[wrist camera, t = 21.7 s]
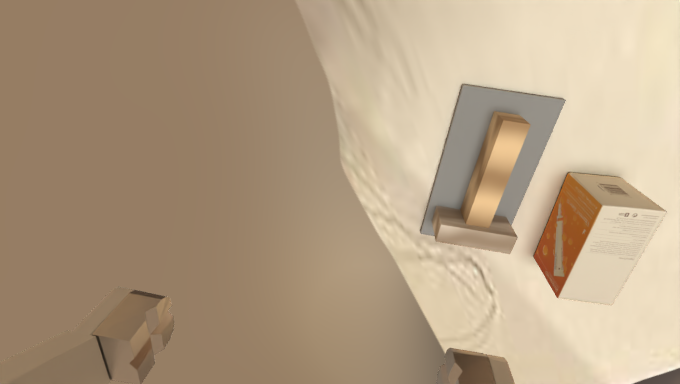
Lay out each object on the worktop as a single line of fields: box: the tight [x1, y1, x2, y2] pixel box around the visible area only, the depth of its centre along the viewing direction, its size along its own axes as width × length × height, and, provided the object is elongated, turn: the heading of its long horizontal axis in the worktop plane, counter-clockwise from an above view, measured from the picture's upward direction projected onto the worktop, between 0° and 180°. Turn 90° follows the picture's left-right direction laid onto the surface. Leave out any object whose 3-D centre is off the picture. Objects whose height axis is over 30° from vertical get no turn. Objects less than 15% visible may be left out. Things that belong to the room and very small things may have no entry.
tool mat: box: [420, 84, 566, 236], centre depth 43 cm, size 20×11×1 cm, turn 173°
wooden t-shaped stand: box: [432, 111, 531, 254], centre depth 41 cm, size 16×9×4 cm, turn 173°
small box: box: [534, 172, 667, 305], centre depth 41 cm, size 8×6×13 cm
